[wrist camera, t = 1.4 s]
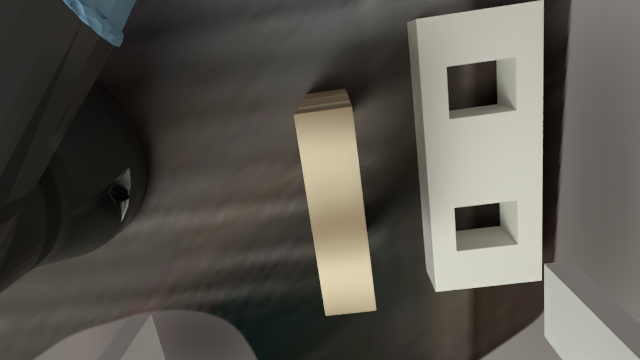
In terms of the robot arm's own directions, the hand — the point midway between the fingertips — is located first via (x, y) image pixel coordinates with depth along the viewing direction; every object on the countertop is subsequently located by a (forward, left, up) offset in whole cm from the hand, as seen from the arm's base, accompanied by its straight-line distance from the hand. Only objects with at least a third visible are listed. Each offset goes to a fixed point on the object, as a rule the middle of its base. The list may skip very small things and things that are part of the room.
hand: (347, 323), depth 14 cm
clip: (0, 0, -21) cm, 21 cm away
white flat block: (+4, +10, -21) cm, 23 cm away
